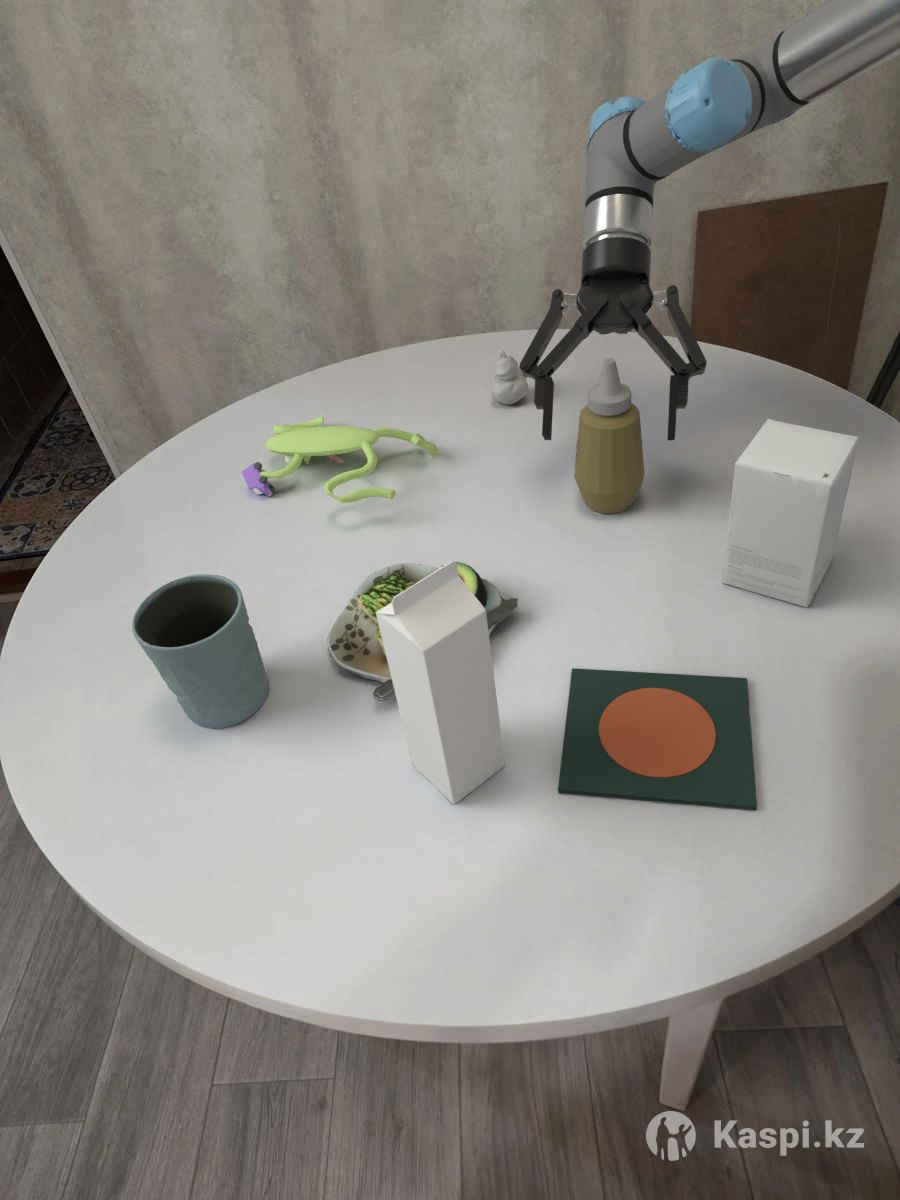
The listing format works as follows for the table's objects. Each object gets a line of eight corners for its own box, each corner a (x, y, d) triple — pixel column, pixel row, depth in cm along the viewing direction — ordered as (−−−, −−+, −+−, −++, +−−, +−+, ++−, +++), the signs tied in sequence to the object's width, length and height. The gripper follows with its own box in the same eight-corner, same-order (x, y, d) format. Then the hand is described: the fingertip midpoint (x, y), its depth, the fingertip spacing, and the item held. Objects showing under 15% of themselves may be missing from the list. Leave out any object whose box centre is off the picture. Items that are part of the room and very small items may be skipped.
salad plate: (458, 732, 79) (452, 699, 76) (294, 687, 86) (283, 655, 83) (530, 596, 92) (527, 563, 89) (382, 566, 99) (375, 534, 96)
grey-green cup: (289, 705, 84) (257, 616, 76) (191, 753, 81) (146, 666, 73) (254, 645, 91) (221, 558, 83) (162, 687, 88) (119, 601, 80)
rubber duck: (482, 404, 123) (476, 352, 118) (511, 384, 126) (507, 332, 121) (511, 414, 120) (507, 361, 115) (540, 393, 123) (538, 341, 118)
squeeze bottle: (651, 486, 104) (657, 346, 92) (632, 525, 99) (636, 383, 87) (587, 476, 107) (584, 340, 95) (565, 514, 102) (560, 375, 90)
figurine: (379, 539, 103) (371, 501, 99) (216, 490, 115) (202, 455, 111) (458, 458, 113) (454, 421, 110) (302, 421, 126) (292, 386, 122)
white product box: (835, 558, 91) (864, 435, 81) (807, 610, 86) (834, 485, 76) (750, 535, 95) (767, 415, 85) (718, 583, 90) (733, 462, 80)
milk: (412, 765, 77) (364, 580, 63) (463, 728, 80) (429, 541, 65) (455, 807, 74) (415, 619, 59) (507, 766, 76) (482, 576, 61)
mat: (746, 682, 80) (747, 676, 79) (756, 810, 70) (757, 805, 69) (572, 672, 83) (572, 667, 83) (558, 793, 73) (557, 788, 73)
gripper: (730, 258, 97) (722, 445, 97) (511, 267, 103) (502, 444, 102) (737, 227, 90) (729, 429, 89) (500, 239, 95) (491, 429, 95)
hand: (608, 438), depth 96 cm, fingers open, 13 cm apart
